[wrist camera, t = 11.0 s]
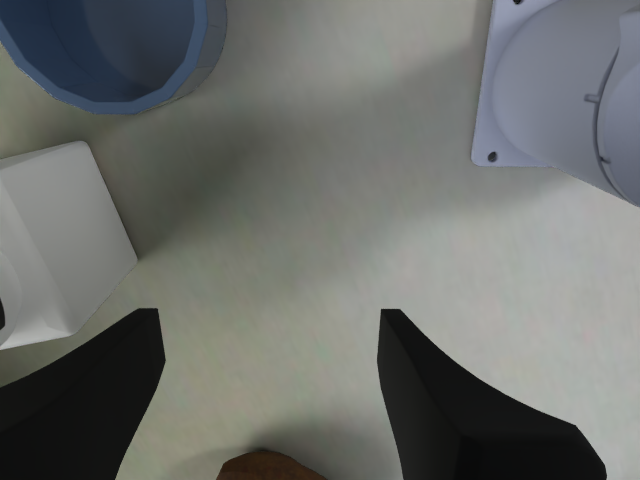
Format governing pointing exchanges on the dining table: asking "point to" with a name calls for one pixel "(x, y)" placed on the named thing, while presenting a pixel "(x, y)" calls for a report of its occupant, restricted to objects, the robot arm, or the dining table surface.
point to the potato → (266, 468)
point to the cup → (114, 49)
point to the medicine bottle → (56, 244)
